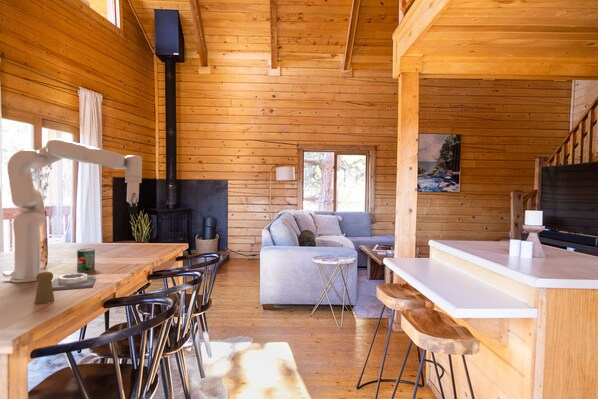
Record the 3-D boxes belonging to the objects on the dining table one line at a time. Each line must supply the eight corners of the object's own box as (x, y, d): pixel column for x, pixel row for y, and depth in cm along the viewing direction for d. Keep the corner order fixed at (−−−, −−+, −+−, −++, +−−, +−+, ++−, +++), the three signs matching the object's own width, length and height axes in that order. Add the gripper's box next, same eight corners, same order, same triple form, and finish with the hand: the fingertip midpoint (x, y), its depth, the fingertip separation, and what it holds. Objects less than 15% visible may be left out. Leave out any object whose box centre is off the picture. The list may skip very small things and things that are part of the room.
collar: (47, 290, 147) (47, 281, 147) (55, 281, 161) (55, 273, 161) (91, 287, 154) (91, 278, 154) (95, 278, 168) (95, 270, 168)
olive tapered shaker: (57, 299, 136) (58, 270, 136) (47, 304, 130) (47, 274, 130) (41, 298, 136) (42, 270, 136) (30, 303, 130) (30, 274, 130)
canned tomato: (97, 269, 188) (98, 248, 187) (88, 272, 180) (88, 251, 180) (83, 268, 188) (83, 248, 188) (73, 272, 180) (73, 250, 180)
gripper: (124, 179, 185) (123, 212, 186) (126, 179, 170) (125, 214, 171) (139, 180, 189) (139, 212, 189) (143, 180, 174) (142, 214, 174)
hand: (132, 213), depth 180 cm, fingers open, 9 cm apart
